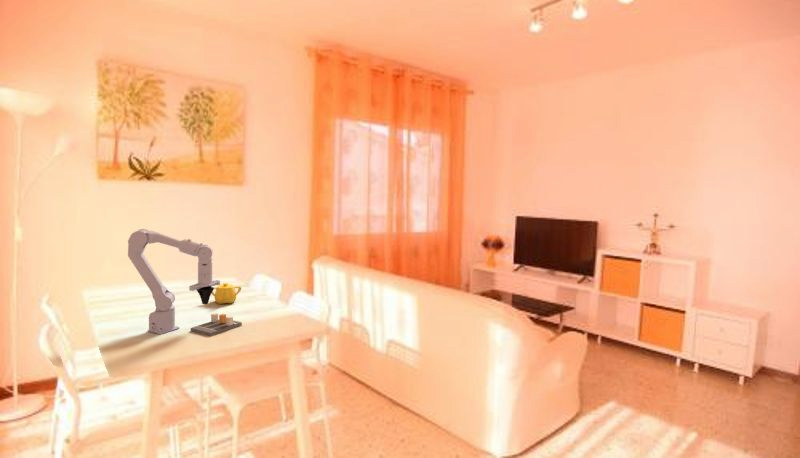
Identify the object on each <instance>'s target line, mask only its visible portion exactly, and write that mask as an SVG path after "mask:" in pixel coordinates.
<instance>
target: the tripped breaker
mask: <svg viewBox="0 0 800 458" xmlns="http://www.w3.org/2000/svg"><path fill="white" fill-rule="evenodd" d="M226 317H227V314H224V313H221V314H218V319H219V323H225V322H226Z"/></svg>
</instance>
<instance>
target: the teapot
mask: <svg viewBox="0 0 800 458" xmlns="http://www.w3.org/2000/svg"><path fill="white" fill-rule="evenodd" d="M212 287H213V288H214V290H215V292H214V290H213V291H212V293H211V295H212V296H213V297H214V300H215V302H216V304H218V305H222V304H231V305H232V304H233V303H234V302H235V301H236V299H237V295H238V294H239V293H240V292H241V290H242V286H234V284H232V283H231V284H229V283H227V282H224V283H222V284H220V285H217V287H214V286H212ZM236 289H237V291H236Z"/></svg>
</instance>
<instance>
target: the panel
mask: <svg viewBox="0 0 800 458" xmlns="http://www.w3.org/2000/svg"><path fill="white" fill-rule="evenodd" d="M210 318H211V320H210V321H209V322H206V323H202V324H198V325H195V326H193V327H190V332H193V333H197V334H200V335H201V334H202V335H204V336H209V337H213V336H216V335H219V334H221V333H225V332H227V331H229V330H233V329H236V328H238V327H241V326H243V322H242V321H238V320H234V316H231V315H230V316H226V322H225V323H219V313H218V312H217V313H216V312H213V313H211V314H210Z"/></svg>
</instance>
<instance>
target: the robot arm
mask: <svg viewBox="0 0 800 458" xmlns="http://www.w3.org/2000/svg"><path fill="white" fill-rule="evenodd" d="M127 243H128V244H127V245H128V246H127V256H128V258H129V260H130V261H131V263H132V264H133V266H134V267H135V269H136V270H137V272H138V273H139V275H140V277H141V278H142V280H143V282H145V284H146V286H147V287H148V289H149V291H150V292H151V294H152V299H153V300H154V304H155V305H154V306H155V310H154V311H153V312H150V314H149V315H148V329H147V332H150V333H153V334H156V335H162V334H166V333H169V332H172V331H176V330H179V329H180V326H176V309H175V308H176V307H175V306H174V302H175V301H176V296H175V294H174V293H173V292H171V291H170V290H169V289H168V288H167V287H166V286H165V285H164V284H163V282H162V281H161V279H160V278H159V277H158V275H157V273H156V272H155V270H154V269H153V267H152V265H151V264H150V263H149V261H148V260H147V257H146V256H145V254H144V252H145V249H146V246H147V245H148V244H149V245H150V244H156V243H158V244H164V245H167V246H170V247H174V248H177V249H178V250H179V252H180V253H183V254H185V255H190V256H193V257H197V259H198V262H197V283H194V284H191V285H189V286H188V287H189V288H188V289H189V291H191V292H194V291H196V293H198V295H199V297H200V300H201V304H203V305H208V304H209V301H210V298H211V295H212V294H211V293H212V291H213V292H214V290H215V289H214V288H213V287H214V286H218V285H221V281H220V280H219V279H217V280H216V279H214V280H213V257H212V256H213V249H212V247H211V246H209V245H208V244H204V243H203V242H202V243H201V242H200V243H198V242H197V241H196V242H195V241H192V239H191V238H187V239H186V238H185V239H183V240H179V239H177V238H174V237H171V236H168V235H165V234H163V233H161V232H158V231H154V230H148V229H145V228H141V229H138V230H136V231H134V232H132V233H131V234H130V236H129V238H128V240H127Z"/></svg>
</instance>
